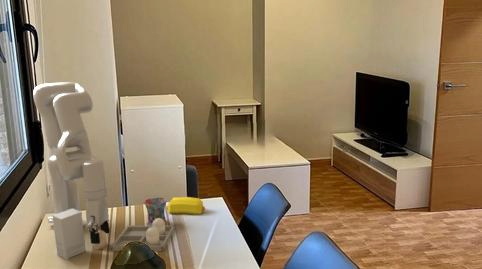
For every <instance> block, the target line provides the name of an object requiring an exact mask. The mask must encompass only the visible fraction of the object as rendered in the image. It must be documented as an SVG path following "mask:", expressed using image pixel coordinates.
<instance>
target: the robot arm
mask: <svg viewBox="0 0 482 269" xmlns="http://www.w3.org/2000/svg"><path fill="white" fill-rule="evenodd" d="M32 93H33V94H32V95H33V102H34V105H35V107H36V109H37V111H38V112H39V114H40V117H41V120H42V124H43V129H44V135H45V139H46V144H47V146H48V148H49V149H50V151H51V150H52V151H56V152H55V154H53V155H52V156H50V157H49V158H48V160H47V168H48V172H49V175H50V178H51V184H52V190H53V192H52V193H53V201H54V210H55V214H58V213H61V212H64V211H67V210H69V209H75V210H78V211H80V212H81V206H80V197H79V187H78V184H77V182H76V180H78V179H82V180H83V189H84V196H85V200H86V201H85V202H86V203H85V219H86V220H84V219H82V223H83V228H84V227H85V226H86V227H87V229H88V233H89V236H90V237H89V238H90V244H91V245H94V244H99V243H100V237H99V233H98V230H102V231H104V232H105V233H106V234H110V220H109V216H110V215H109V208H108V207H109V206H108V202H107V197H108V193H107V185H106V184H107V183H106V174H105V173H106V172H105V166H104V165H105V164H104V161H103V160H101V159H98V158H97V157H96V156H94V155H92V150H91V146H90V140H89V136H88V133H87V130H86V127H85V125H84V122H83V119H82V115H81V114H89V113H91V112H92V110H93V105H94V104H93V100H92V97H91V95H90V94H89V93H88V91H87V90H86V89H85V88H84V87H83V86H82V85H80V84H79V83H78V82H75V81H63V82H50V83H43V84H39V85H37V86H36V87H34V89H33V92H32ZM73 148H75V149H76V150H73V151H72V150H71V151H66V150H67V149H73ZM47 221H48V222H47V223H48V224H54V223H53V216H48V217H47ZM52 227H53V228H52V229H53V230H54V225H53V226H52ZM99 227H100V228H99Z"/></svg>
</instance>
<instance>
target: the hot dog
mask: <svg viewBox="0 0 482 269" xmlns="http://www.w3.org/2000/svg"><path fill="white" fill-rule="evenodd" d="M167 204H168V205H166V211H167V212H168V213H169V214H175V215H176V214H177V215H178V214H187V215H198V216H199V215H201V214H202V213H204V212H205V211H206V207H205V205H204V202H203V201H202V200H201V198H198V197H191V196H179V197H172V199H170V201H169V202H168V203H167Z"/></svg>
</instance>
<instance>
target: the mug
mask: <svg viewBox="0 0 482 269" xmlns="http://www.w3.org/2000/svg"><path fill="white" fill-rule="evenodd" d="M167 202H168V200H167V199H166V198H164V197H152V198H148V199H146V200H144V201H143V203H144V206H145V208H146V212H147V222H146V226H152V224H153V221H154V220H155V219H157V218H161V219H163V220H164V222H165V226H167V224H168V221H167V219H166V216H165V208H166V206H167Z"/></svg>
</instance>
